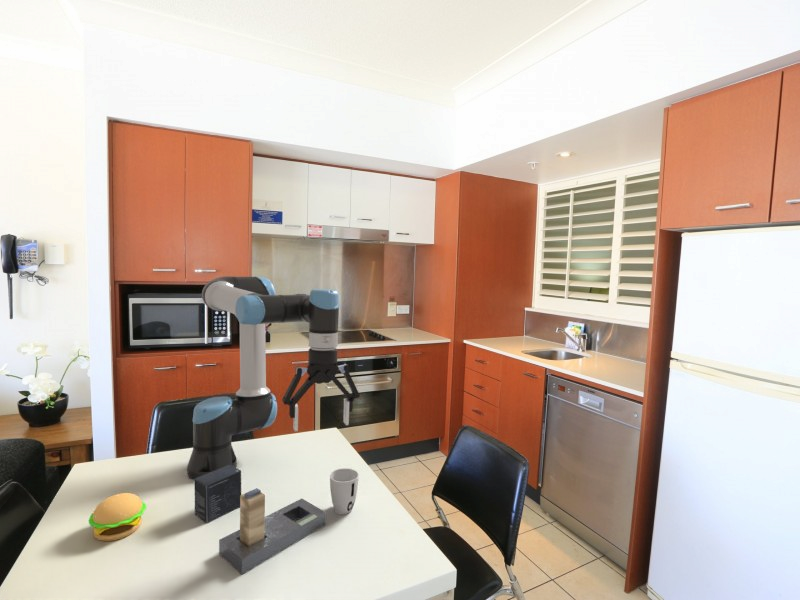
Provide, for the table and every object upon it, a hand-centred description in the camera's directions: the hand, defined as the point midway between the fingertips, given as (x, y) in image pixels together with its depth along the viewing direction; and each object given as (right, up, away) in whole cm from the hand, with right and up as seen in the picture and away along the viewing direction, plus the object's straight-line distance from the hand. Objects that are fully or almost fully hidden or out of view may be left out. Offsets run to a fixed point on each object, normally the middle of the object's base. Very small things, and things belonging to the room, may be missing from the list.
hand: (321, 426), depth 109 cm
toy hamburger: (-51, -25, -5) cm, 57 cm away
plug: (-14, -26, -12) cm, 32 cm away
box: (-30, -25, +5) cm, 39 cm away
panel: (-10, -26, -7) cm, 29 cm away
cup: (+5, -26, +7) cm, 27 cm away
